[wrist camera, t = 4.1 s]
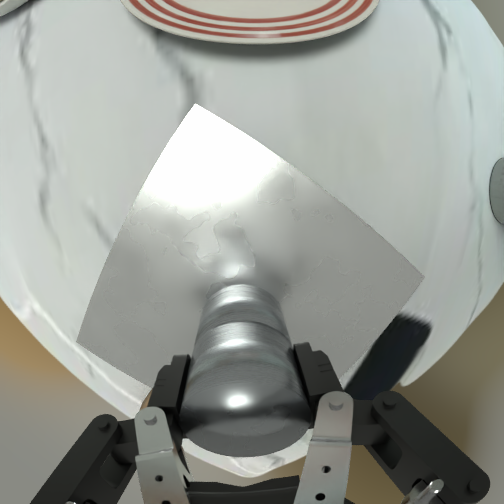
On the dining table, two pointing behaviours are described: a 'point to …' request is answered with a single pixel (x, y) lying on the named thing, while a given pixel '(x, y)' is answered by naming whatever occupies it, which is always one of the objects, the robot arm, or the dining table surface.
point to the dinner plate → (252, 18)
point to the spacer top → (244, 392)
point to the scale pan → (239, 255)
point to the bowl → (10, 5)
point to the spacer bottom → (242, 309)
